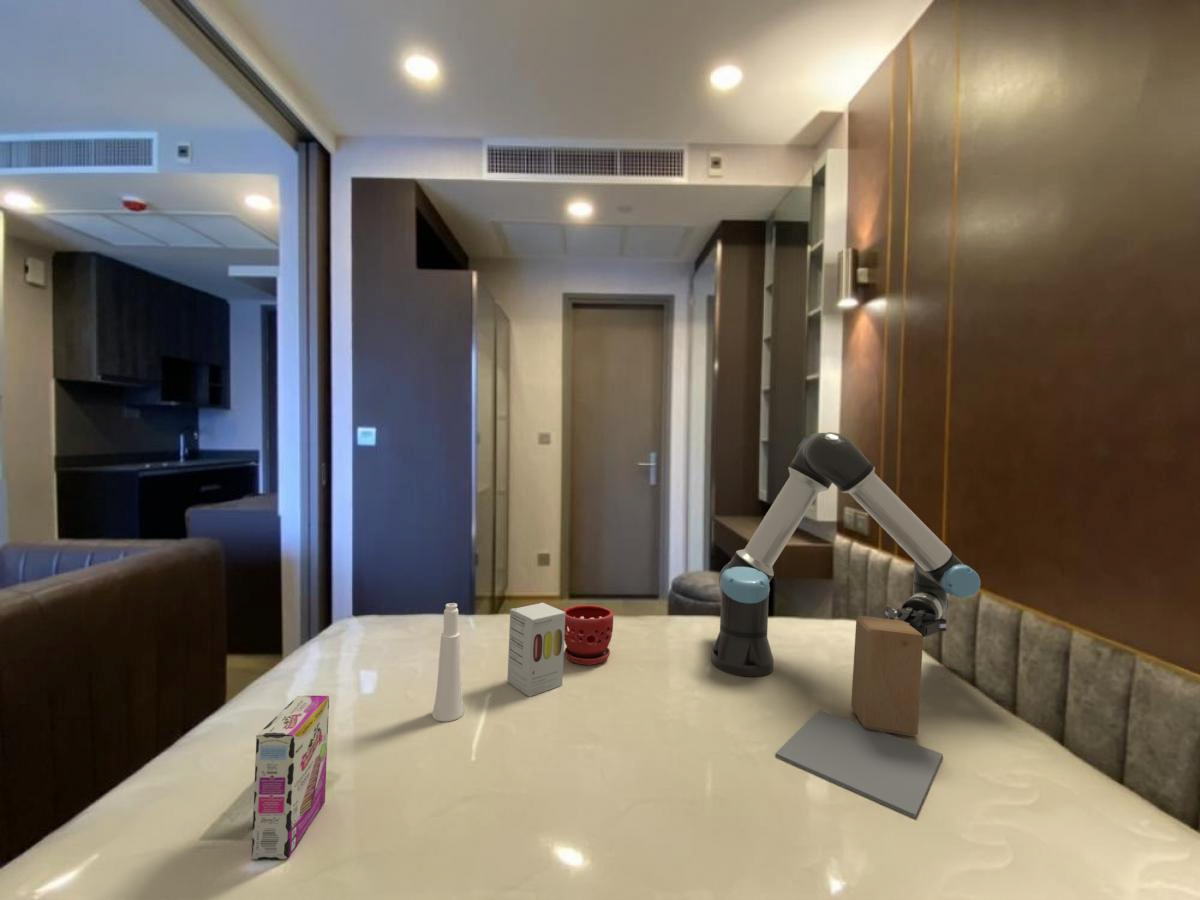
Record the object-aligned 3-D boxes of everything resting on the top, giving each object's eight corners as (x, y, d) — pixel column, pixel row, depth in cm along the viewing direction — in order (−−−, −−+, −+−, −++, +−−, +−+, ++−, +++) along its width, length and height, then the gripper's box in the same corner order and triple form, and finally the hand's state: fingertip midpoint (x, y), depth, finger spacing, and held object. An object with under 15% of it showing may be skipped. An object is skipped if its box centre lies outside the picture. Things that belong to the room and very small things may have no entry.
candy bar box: (290, 861, 68) (293, 735, 67) (249, 862, 67) (252, 736, 67) (328, 801, 79) (330, 693, 79) (293, 802, 78) (295, 693, 78)
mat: (775, 756, 94) (775, 753, 94) (819, 712, 111) (819, 709, 111) (915, 818, 80) (915, 814, 80) (942, 757, 96) (942, 753, 96)
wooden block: (919, 739, 101) (925, 634, 101) (863, 730, 103) (869, 627, 103) (900, 715, 110) (906, 619, 111) (849, 707, 112) (855, 613, 113)
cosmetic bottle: (469, 714, 105) (473, 604, 105) (442, 725, 101) (445, 611, 100) (453, 703, 109) (456, 598, 109) (426, 713, 105) (429, 604, 104)
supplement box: (528, 698, 113) (531, 619, 112) (505, 682, 119) (508, 608, 119) (564, 685, 119) (566, 611, 119) (540, 671, 126) (543, 601, 126)
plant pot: (621, 655, 137) (622, 609, 136) (593, 673, 126) (595, 623, 125) (579, 643, 144) (581, 600, 143) (550, 659, 133) (551, 612, 132)
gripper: (952, 633, 126) (932, 662, 108) (891, 620, 135) (864, 644, 117) (953, 602, 126) (934, 626, 108) (892, 590, 134) (866, 611, 117)
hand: (898, 635), depth 113 cm, fingers closed
